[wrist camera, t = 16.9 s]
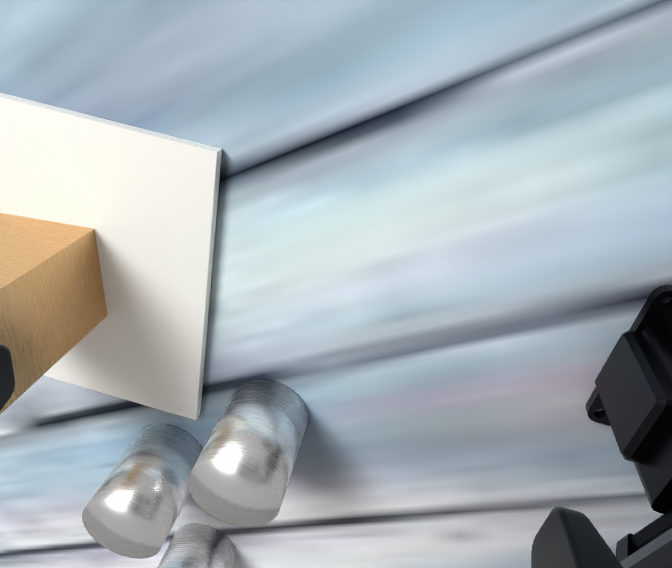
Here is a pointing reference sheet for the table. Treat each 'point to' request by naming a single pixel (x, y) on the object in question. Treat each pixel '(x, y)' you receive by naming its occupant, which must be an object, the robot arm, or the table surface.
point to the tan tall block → (46, 293)
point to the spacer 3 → (250, 454)
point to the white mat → (124, 242)
